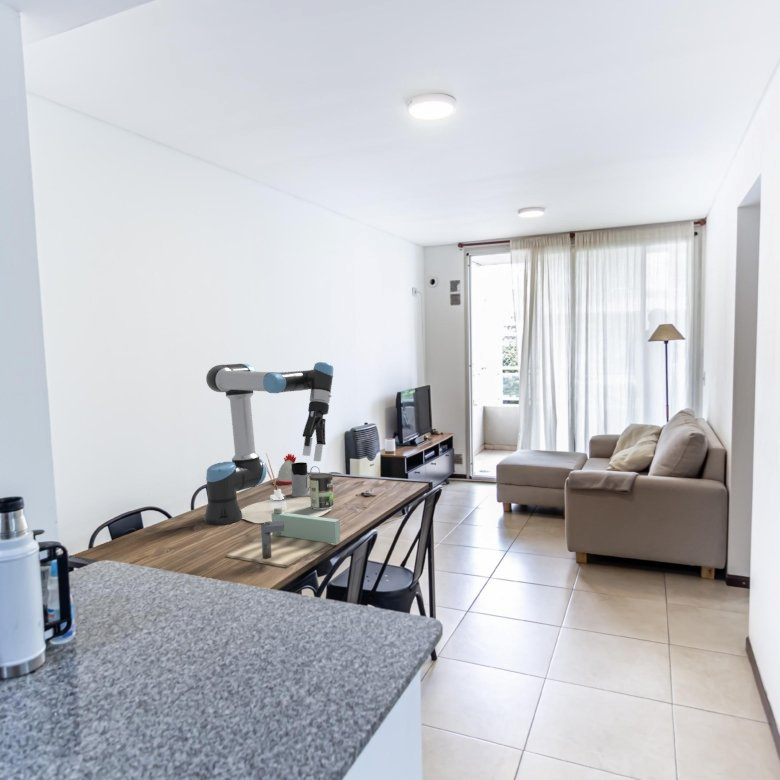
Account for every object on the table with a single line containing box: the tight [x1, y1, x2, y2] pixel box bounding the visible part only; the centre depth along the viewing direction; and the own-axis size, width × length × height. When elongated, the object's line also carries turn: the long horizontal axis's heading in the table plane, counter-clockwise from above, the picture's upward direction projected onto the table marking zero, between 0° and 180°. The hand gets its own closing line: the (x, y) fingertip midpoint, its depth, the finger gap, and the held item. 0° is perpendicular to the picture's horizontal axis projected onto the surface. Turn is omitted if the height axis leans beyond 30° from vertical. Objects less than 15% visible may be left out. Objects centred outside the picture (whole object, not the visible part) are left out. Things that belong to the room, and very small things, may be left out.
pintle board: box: [225, 507, 331, 568], centre depth 203 cm, size 26×28×11 cm
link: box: [271, 511, 341, 545], centre depth 211 cm, size 28×5×8 cm, turn 63°
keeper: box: [260, 521, 285, 559], centre depth 193 cm, size 8×5×12 cm, turn 98°
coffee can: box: [308, 472, 335, 511], centre depth 256 cm, size 10×10×14 cm
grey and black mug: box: [291, 461, 321, 498], centre depth 279 cm, size 9×14×15 cm, turn 87°
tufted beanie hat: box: [277, 453, 298, 486], centre depth 308 cm, size 14×14×15 cm
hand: (311, 458), depth 213 cm, fingers open, 13 cm apart
